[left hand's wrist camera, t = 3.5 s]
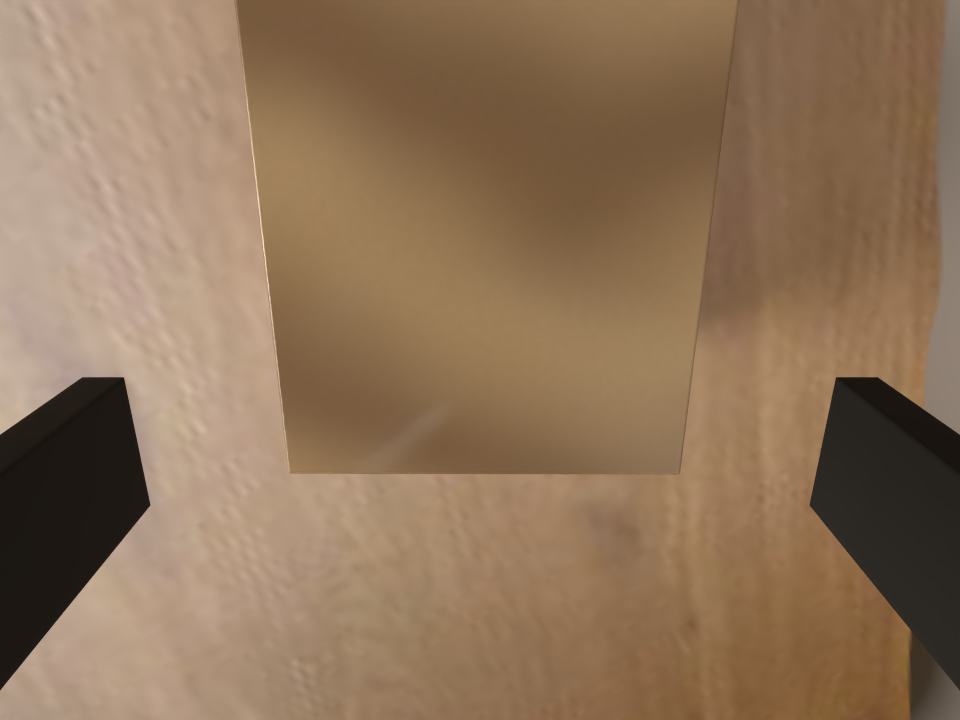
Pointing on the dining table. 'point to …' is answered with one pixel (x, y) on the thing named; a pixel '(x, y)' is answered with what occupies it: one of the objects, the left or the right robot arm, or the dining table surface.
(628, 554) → the dining table surface
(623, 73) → the cabinet
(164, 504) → the dining table surface
